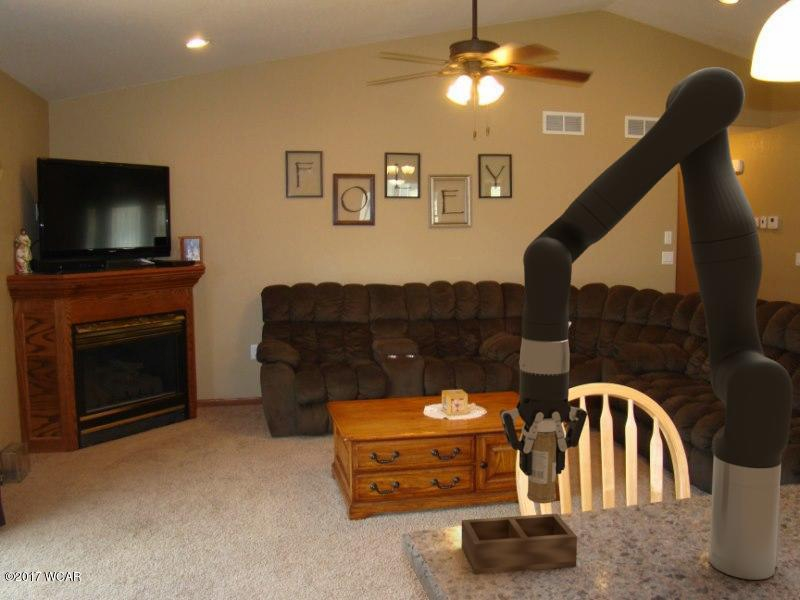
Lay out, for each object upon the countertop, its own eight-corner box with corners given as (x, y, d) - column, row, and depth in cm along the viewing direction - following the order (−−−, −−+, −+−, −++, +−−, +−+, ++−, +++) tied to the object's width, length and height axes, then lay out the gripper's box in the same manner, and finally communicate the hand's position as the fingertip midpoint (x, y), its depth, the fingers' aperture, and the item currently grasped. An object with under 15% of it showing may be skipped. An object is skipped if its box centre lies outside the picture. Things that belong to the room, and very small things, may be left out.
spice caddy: (556, 541, 118) (556, 513, 117) (576, 566, 109) (577, 536, 109) (461, 548, 116) (461, 520, 115) (474, 574, 107) (474, 544, 107)
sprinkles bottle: (561, 500, 111) (564, 417, 110) (540, 506, 109) (543, 422, 107) (541, 491, 115) (543, 410, 113) (520, 497, 113) (522, 414, 111)
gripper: (506, 373, 105) (505, 484, 107) (598, 370, 107) (594, 479, 109) (493, 363, 112) (491, 467, 114) (578, 360, 114) (575, 462, 116)
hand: (542, 472), depth 111 cm, fingers closed on sprinkles bottle, 4 cm apart
